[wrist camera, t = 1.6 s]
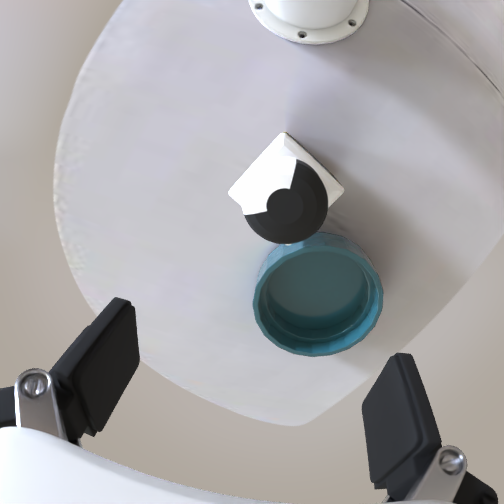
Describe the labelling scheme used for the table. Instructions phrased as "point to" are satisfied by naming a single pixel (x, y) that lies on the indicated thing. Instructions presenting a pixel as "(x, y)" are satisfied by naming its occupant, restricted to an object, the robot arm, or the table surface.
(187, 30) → the table surface
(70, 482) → the robot arm
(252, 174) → the medicine bottle
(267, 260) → the dish
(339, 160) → the table surface
